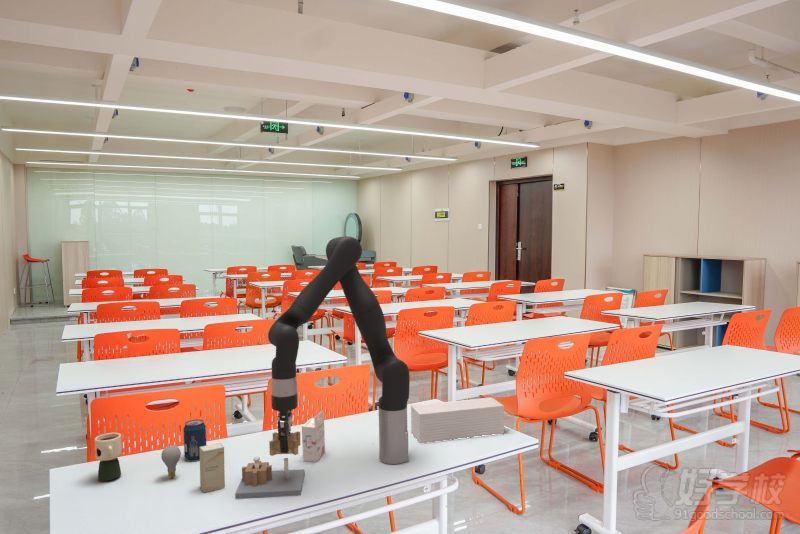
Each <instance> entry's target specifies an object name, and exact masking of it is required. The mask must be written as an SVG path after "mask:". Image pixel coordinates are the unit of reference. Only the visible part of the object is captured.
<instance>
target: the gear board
mask: <svg viewBox="0 0 800 534" xmlns="http://www.w3.org/2000/svg"><path fill="white" fill-rule="evenodd" d="M252 460H253V462H248V463H247V464H246V466H242V467H241V479H240V481H239V483H238V486H237V488H236V491H235V493H234V498H235V500H238V499H239V500H240V499H256V498H258V499H259V498H273V497H274V498H275V497H291V496H292V497H293V496H294V497H295V496H301V495H302V490H303V486H304V479H305V472H306V470H305V469H303V468H301V469H300V468H299V469H289V458H288V457H284V459H283V468H284V469H282V470H281V469H280V470H273V469H272V467H273V465H270V462H267V461H265V462H262V461H261V458H260V457H259V456H255V457H253V459H252Z"/></svg>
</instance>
